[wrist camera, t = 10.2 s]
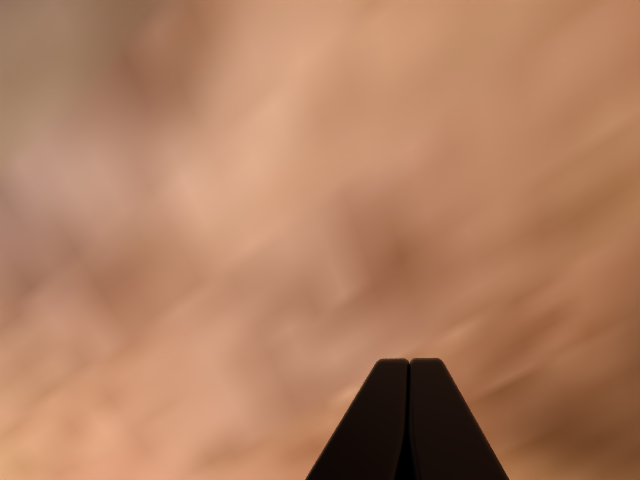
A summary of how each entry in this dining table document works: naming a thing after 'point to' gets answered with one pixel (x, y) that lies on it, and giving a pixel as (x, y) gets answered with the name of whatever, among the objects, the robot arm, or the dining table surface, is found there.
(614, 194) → the dining table surface
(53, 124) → the dining table surface
